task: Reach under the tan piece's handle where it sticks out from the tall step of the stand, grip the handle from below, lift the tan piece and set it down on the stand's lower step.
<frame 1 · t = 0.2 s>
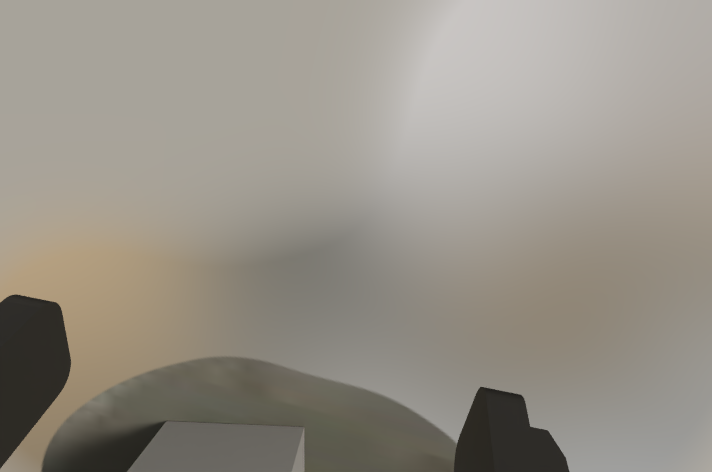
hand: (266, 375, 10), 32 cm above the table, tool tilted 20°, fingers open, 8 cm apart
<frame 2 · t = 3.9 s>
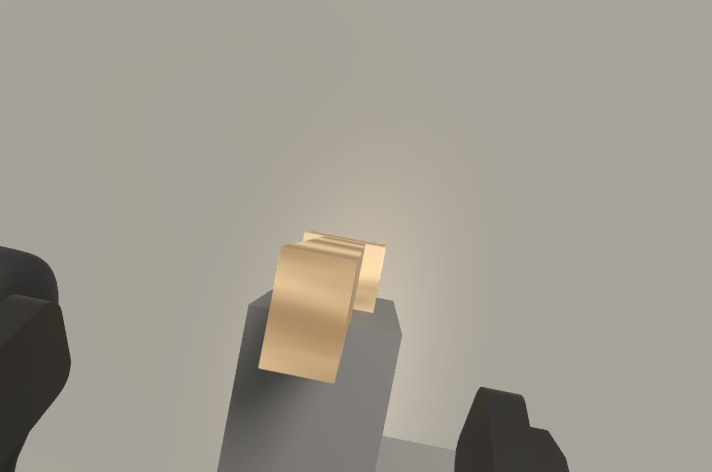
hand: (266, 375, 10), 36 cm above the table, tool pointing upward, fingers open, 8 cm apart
tan piece: (325, 319, 27), point 34 cm above the table, touching stand
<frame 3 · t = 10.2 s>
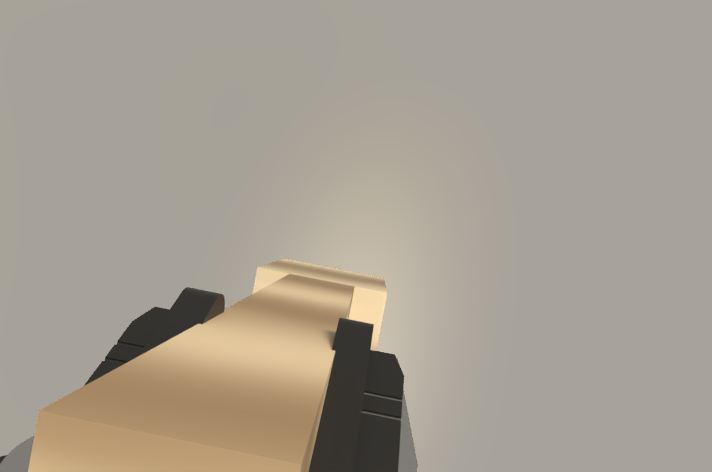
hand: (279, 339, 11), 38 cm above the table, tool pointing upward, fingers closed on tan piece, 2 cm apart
tan piece: (279, 435, 15), point 34 cm above the table, touching gripper
when the fingers open (29 cm above the table, at t = 16.0 s): tan piece stays where it is, resting on stand.
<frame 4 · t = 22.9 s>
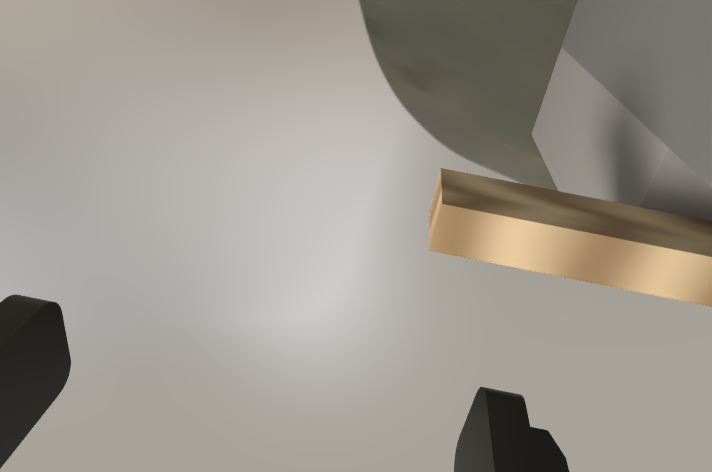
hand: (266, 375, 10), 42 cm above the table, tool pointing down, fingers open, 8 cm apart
stand: (630, 59, 45), on the table
tan piece: (625, 227, 27), point 24 cm above the table, touching stand
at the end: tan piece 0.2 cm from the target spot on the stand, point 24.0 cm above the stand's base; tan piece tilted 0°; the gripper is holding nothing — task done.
